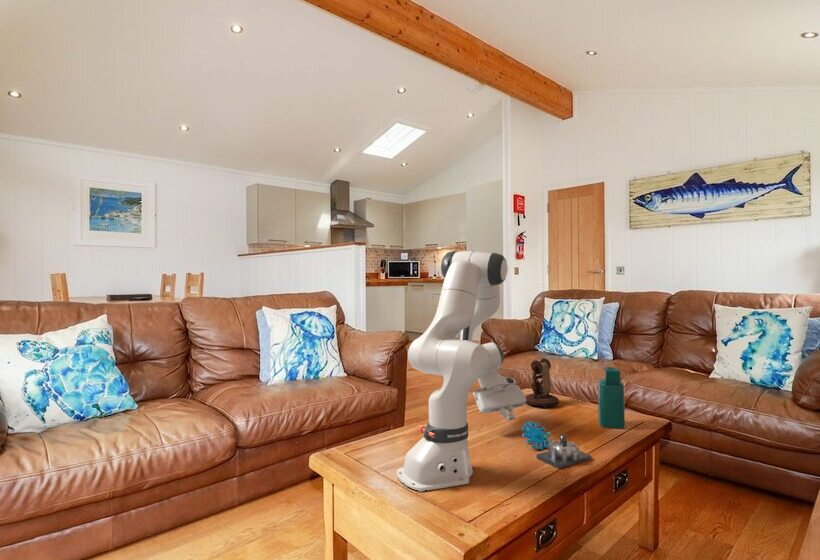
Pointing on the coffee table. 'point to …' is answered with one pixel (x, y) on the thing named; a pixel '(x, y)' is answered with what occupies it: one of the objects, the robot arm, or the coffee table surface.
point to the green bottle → (611, 399)
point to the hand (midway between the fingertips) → (511, 419)
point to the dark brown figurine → (541, 385)
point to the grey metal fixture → (563, 453)
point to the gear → (536, 435)
